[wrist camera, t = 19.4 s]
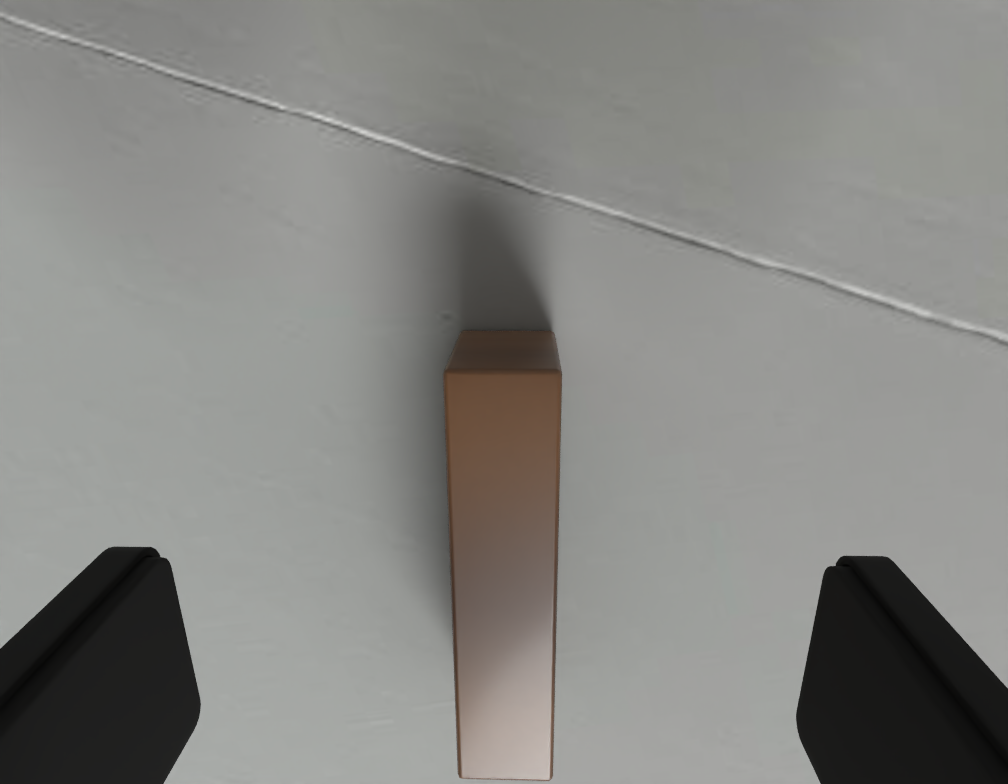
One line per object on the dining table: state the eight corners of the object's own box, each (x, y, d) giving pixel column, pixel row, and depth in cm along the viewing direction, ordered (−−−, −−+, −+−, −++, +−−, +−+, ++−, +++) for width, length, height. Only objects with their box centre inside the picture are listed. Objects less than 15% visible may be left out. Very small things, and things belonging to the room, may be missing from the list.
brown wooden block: (459, 329, 14) (442, 369, 11) (555, 329, 14) (562, 370, 11) (469, 676, 16) (457, 780, 14) (548, 678, 16) (552, 783, 14)
